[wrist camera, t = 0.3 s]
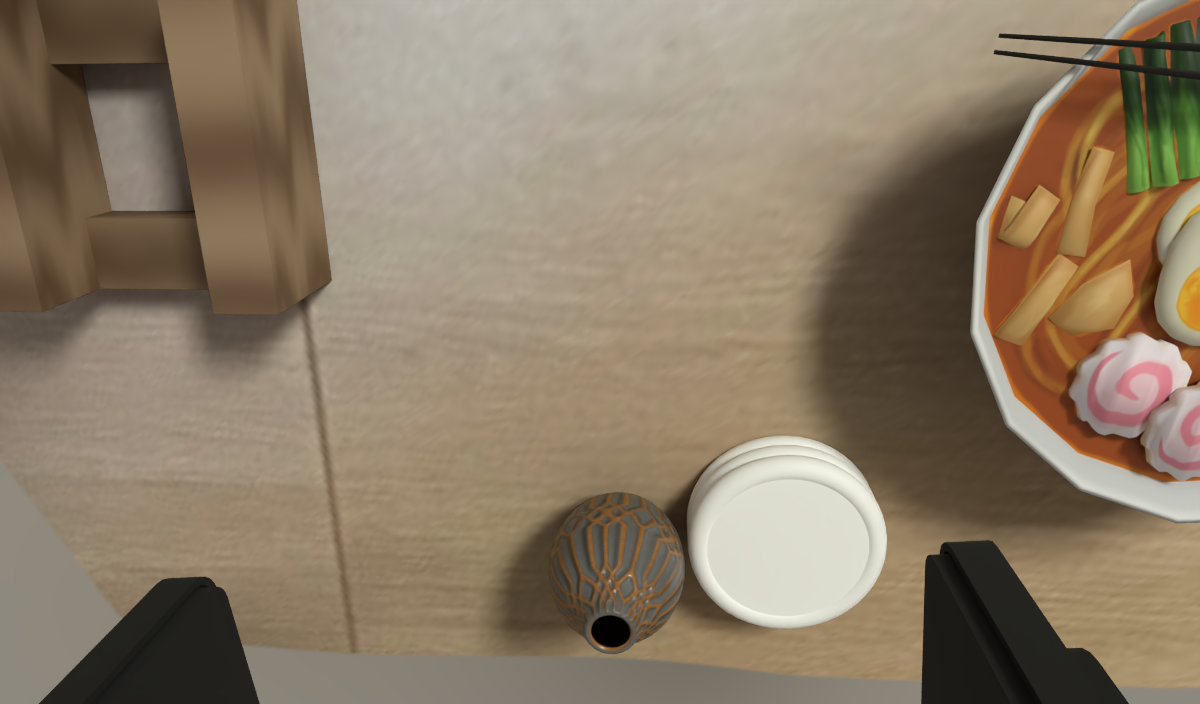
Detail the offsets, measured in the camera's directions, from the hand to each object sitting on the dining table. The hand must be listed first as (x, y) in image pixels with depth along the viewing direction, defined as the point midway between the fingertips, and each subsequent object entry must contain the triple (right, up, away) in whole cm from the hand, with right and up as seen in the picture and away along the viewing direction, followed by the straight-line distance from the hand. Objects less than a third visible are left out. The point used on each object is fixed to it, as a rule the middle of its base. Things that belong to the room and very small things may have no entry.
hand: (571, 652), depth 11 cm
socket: (-20, +14, +29) cm, 38 cm away
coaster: (+10, -5, +34) cm, 35 cm away
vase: (+2, -6, +35) cm, 35 cm away
